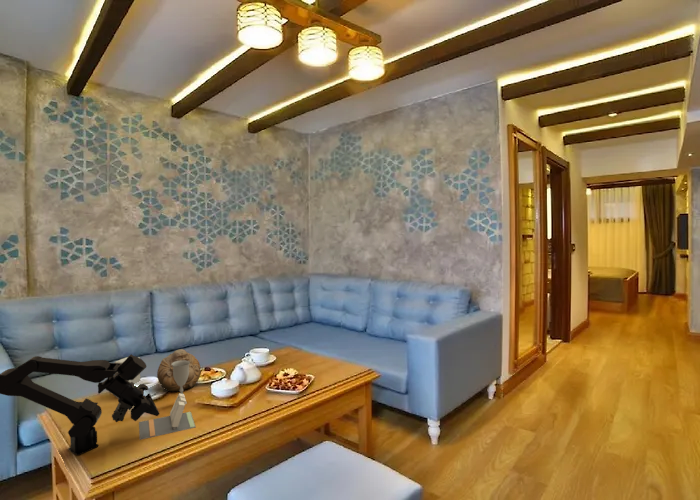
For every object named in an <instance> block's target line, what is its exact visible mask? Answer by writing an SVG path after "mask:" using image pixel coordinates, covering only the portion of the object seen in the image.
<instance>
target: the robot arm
mask: <svg viewBox="0 0 700 500" xmlns="http://www.w3.org/2000/svg"><path fill="white" fill-rule="evenodd" d="M127 357H128V358H127ZM127 357H126V358H127V359H126V360H125V361H124V362H123V363H122V364H121V363H115V362H110V361H108V360H105V359H94V360H93V359H91V360H86V361H75V360H67V359H57V358H50V357H42V356H39V355H38V356H37V355H35V356H33V357H31V358H30V359H28V360H27V361H25V362H23V363H22V364H20V365H19V366H17V367H11V368H7V369H5V370H4V371H3V372H1V373H0V395H4V396H8V397H20V398H24V399H26V400H29V401H31V402H33V403H35V404H37V405H40V406H42V407H45V408H47V409H49V410H51V411H54V412H57V413H59V414H61V415H63V416H65V417H66V418H67V419H68V420H69V421H70V423H71V424H72V426H71V427H70V429H69V430H68V432H67V433H68V435H69V439H70V441H69V442H70V447H69V448H68V451H69V452H71V453H73V454H74V455H76V456H80V455H82V454H85V453H87V452H89V451H91V450H93V449H96V448H98V447H99V443H98V431H97V430H96V427H95V425H96V424H97V423H98V421H99V419H100V418H101V415H102V412H103V410H102V407H101V406H100V405H98V404H99V403H98V402H97V401H96V402H95V401H92V400H91V399H90V398H85V399H84V400H83V401H76V400H73V399H71V398H69V397H67V396H65V395H62V394H60V393H58V392H56V391H53V390H51V389H48V388H47V387H44V386H43V385H40V384H38V383H36V382H33V380H32V379H31V378H30V377H29V375H30V374H32V373H40V374H41V373H42V374H43V373H45V374H53V375H62V376H73V377H77V378H79V379H81V380H83V381H86V382H89V383H95V384H97V387H98V388H97V390H98V391H97V393H98V395H99V394H101V393H103V392H104V390H106V391H107V392H109V393H110V394H112V395H113V396H115V398H117V402H118V404H117V405H116V408H115V409H114V410H113V413H112V414H111V418H112V421H115V422H116V423H117V422H118V423H119V422H124V419H125V417H126V414H127V413H128V411H130V419H131V420H133V421H134V422H137V421H138V420H139V419H140V418H141V417H142V416H143V415H144V414H148V415H151V416H155V417H158V416H159V415H160V411H159V409H158V408H157V406H156V404H155V402H154V399H153V397H152V395H151V393H150V392H149V393H148V394H147V395H145V392H144V391H148V390H149V387H148V386H149V385H146V384H145V383H141V384H140V385H139V386H138V387H136V386H134V383H133V382H131V383H130V382H129V380H133V379H134V378H136V377H137V376H138V375H139V374H140V375H141V373H142V372H143V371H144V370H146V369H147V364H146V362H145V361H144V360H143V359H142V358H141V357H140V358H138V357H139V356H134V355H133V354H132V353H131V354H129V355H128V356H127ZM127 380H128V381H127Z"/></svg>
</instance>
